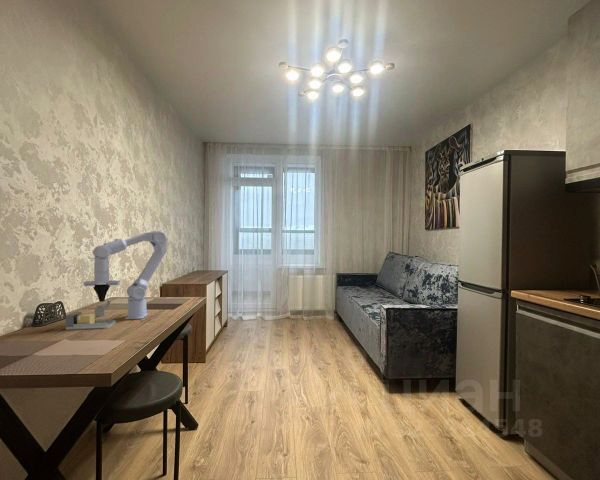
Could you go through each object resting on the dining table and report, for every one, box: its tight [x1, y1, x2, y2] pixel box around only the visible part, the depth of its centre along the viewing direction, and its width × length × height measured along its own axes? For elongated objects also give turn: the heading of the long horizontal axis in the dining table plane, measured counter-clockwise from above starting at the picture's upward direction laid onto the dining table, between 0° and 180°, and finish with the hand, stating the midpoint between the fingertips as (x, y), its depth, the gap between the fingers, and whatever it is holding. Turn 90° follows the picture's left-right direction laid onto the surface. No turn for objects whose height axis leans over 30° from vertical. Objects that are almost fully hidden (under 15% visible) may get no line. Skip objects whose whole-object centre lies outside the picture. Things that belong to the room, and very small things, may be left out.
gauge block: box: [77, 312, 96, 324], centre depth 138 cm, size 5×5×4 cm
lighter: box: [94, 298, 112, 318], centre depth 159 cm, size 7×2×8 cm, turn 116°
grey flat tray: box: [65, 318, 117, 331], centre depth 140 cm, size 9×17×2 cm, turn 98°
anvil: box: [65, 311, 82, 328], centre depth 138 cm, size 6×3×5 cm, turn 8°
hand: (102, 301), depth 145 cm, fingers closed
